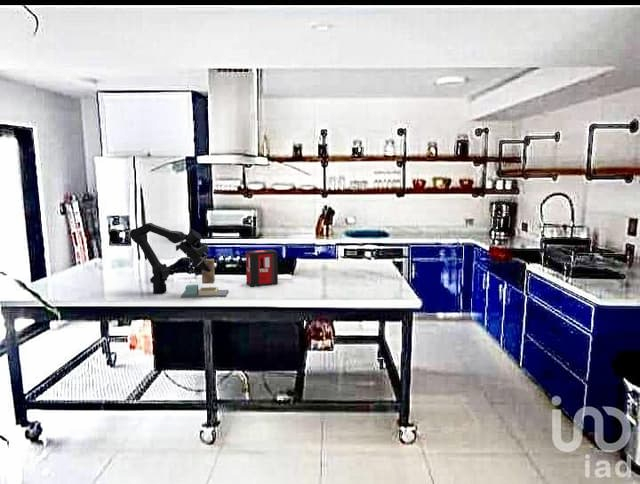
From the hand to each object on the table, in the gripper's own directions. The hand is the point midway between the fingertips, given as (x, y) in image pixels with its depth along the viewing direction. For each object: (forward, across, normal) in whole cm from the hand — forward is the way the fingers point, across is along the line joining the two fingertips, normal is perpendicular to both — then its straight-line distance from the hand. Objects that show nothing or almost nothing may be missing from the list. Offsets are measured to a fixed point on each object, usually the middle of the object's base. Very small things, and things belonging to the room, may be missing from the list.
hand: (210, 270), depth 281 cm
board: (+7, 0, +12) cm, 14 cm away
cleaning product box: (+29, +22, -10) cm, 38 cm away
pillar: (+4, 0, +6) cm, 7 cm away
